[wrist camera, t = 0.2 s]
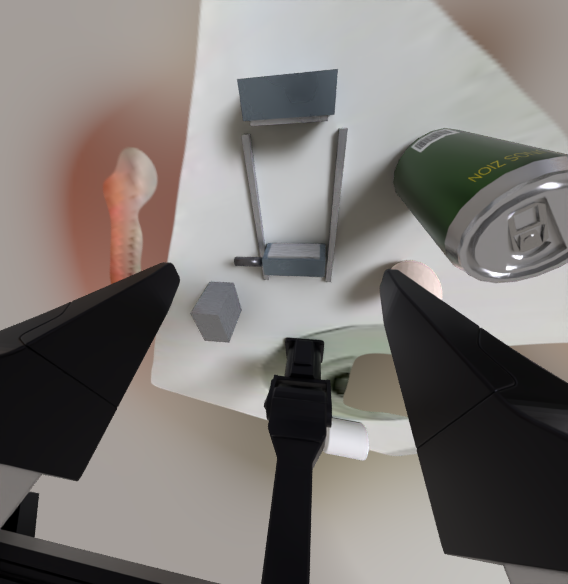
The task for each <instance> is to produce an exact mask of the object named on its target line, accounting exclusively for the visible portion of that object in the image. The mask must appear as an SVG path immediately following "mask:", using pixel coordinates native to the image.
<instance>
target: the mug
mask: <svg viewBox="0 0 568 584" xmlns="http://www.w3.org/2000/svg"><path fill="white" fill-rule="evenodd" d="M323 451H324V452H325V453H328V454H333V455H338V456H343V457H348V458H353V459H358V460H365V459H366V458H367V455H368V451H369V439H368V433H367V430H366V427H365V426H364V425H363V424H362V423H356V422H351V421H346V420H341V419H335V418H332V426H331V428H328V427H327V435H326V441H325V447H324V449H323Z"/></svg>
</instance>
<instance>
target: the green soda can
mask: <svg viewBox="0 0 568 584" xmlns="http://www.w3.org/2000/svg"><path fill="white" fill-rule="evenodd" d="M393 183H394V187H395V191H396V193H397V194H398V196H399V197H400V198H401V200H402V201H403V202H404V203H405V205H406V206H407V207H408V208H409V210H410V211H411V212H412V214H413V215H414V216H415V217H416V219H417V220H418V221H419V222H420V224H421V225H422V226H423V227H424V229H425V230H426V231H427V233H428V234H429V235H430V236H431V238H432V239H433V240H434V241H435V243H436V244H437V245H438V246H439V248H440V249H441V250H442V252H443V253H444V254H445V255H446V257H447V258H448V259H449V260H450V262H451V263H452V264H453V265H454V266H455V267H457V268H459V269H461V270H463V271H465V272H466V273H467V274H468V275H470V276H472V277H474V278H476V279H478V280H480V281H486V282H492V283H503V282H516V281H520V280H524V279H528V278H532V277H536V276H539V275H542V274H544V273H546V272H549V271H551V270H554V269H556V268H559V267H561V266H563V265H564V264H566V263H568V154H563V153H559V152H554V151H550V150H545V149H541V148H537V147H532V146H528V145H523V144H519V143H514V142H510V141H505V140H501V139H496V138H492V137H488V136H483V135H479V134H474V133H470V132H465V131H461V130H456V129H448V128H443V129H439V130H434V131H431V132H429V133H427V134H425V135H424V136H422V137H420V138H418V139H417V140H416V141H415V142H414V143H413V144H412V145H410V146H409V147H408V148H407V149H406V151H405V152H404V154H403V155H402V156H401V158H400V159H399V161H398V164H397V166H396V169H395V172H394V181H393Z"/></svg>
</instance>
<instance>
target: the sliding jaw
mask: <svg viewBox="0 0 568 584" xmlns="http://www.w3.org/2000/svg"><path fill="white" fill-rule="evenodd" d="M325 262H326V256H325V244H303V243H268V244H267V247H266V250H265V252H264V255H263V257H235V259H234V264H235V266H257V267H262V266H263V270H264V275H279V276H309V277H324V274H325Z"/></svg>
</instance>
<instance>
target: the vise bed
mask: <svg viewBox="0 0 568 584" xmlns="http://www.w3.org/2000/svg"><path fill="white" fill-rule="evenodd" d="M337 73H338V69H333V70H323V71H314V72H304V73H294V74H284V75H274V76H264V77H254V78H244V79H237V82H238V89H239V95H240V102H241V109H242V116H243V121H250V126H260V125H275V124H289V123H304V122H318V121H328V115H334V113H335V100H336V86H337ZM347 131H348V128H339V136H338V147H337V158H336V169H335V181H334V192H333V203H332V214H331V226H330V237H329V248H328V259H327V271H326V282H331V276H332V267H333V258H334V249H335V239H336V230H337V221H338V212H339V203H340V194H341V185H342V176H343V167H344V158H345V149H346V140H347ZM241 137H242V143H243V150H244V156H245V162H246V169H247V175H248V181H249V188H250V194H251V200H252V207H253V213H254V219H255V226H256V232H257V238H258V244H259V251H260V257H263V255H264V252H265V250H266V247H265V240H264V233H263V225H262V218H261V210H260V203H259V196H258V188H257V181H256V173H255V166H254V159H253V151H252V144H251V136H250V134H243V135H241ZM262 270H263V266H262ZM263 276H264V280H269V275H264V270H263Z"/></svg>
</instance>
